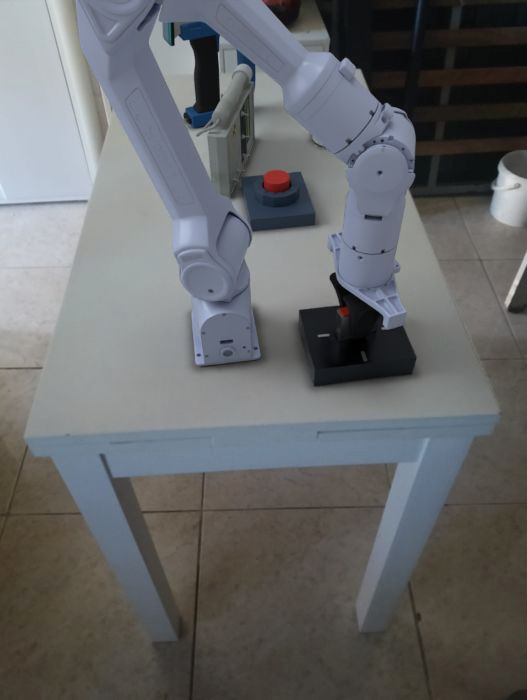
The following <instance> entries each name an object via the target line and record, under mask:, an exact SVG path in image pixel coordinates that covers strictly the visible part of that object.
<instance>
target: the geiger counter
mask: <svg viewBox="0 0 527 700" xmlns="http://www.w3.org/2000/svg"><path fill="white" fill-rule="evenodd" d="M252 74H253V73H252V70H251V68H250V67H249V66H248V65H246V64H240V65H238V66H237V65H236V67H235V69H234V70H233V72H232V75H231V81H230V82H229V84H228V86H227V88H226V89H225V91H224V93H220V102H219V104H218V105H217V107H216V109H215V111H214V112H213V114H212V119H211V120H210V121H209V122H208V123H207V124H206V125H205V126H203V128H201V130H199V131H198V132H197V133H196V134H195V137H196V138H198V137H200V136H201V135H202V134H205V133H207V135H206V137H207V138H206V139H207V149H208V160H209V162H208V163H209V173H210V174H209V175H210V180H211V182H212V184H213V186H214V189H215V191H216V193H217V194H218V195H222V196H226V197H229V198H230V199H231V198H232V196H233V193H234V190H235V189H236V186H237V183H241V180H239V179H240V178H241V174H242V172H246V169H244V167H245V165H246V163H247V160H248V158H249V157H251V154H250V153H251V151H252V148H253V146H254V144H255V141H256V130H255V129H256V128H255V127H256V126H255V125H256V124H255V90H254V82H251V81H250V80H251V78H252ZM212 122H213V124H211V123H212Z"/></svg>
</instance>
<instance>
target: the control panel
mask: <svg viewBox="0 0 527 700" xmlns="http://www.w3.org/2000/svg"><path fill="white" fill-rule="evenodd" d="M338 309H340V305H339V304H338V305H329V306H328V305H327V306H320V307H310V308H301V309H298V321H297V322H298V323H297V326H298V327H297V328H298V331H299V335H300V338H301V339H300V340H301V343H302V347H303V351H304V355H305V359H306V361H307V366H308V370H309V374H310V377H311V382H312V386H313V387H318V386H326V385H332V384H334V385H335V384H343V383H350V382H358V381H359V382H361V381H366V380H376V379H383V378H391V377H399V376H400V377H401V376H407V375H413V373H414V369H415V365H416V361H417V354H416V352H415V349H414V348H413V346H412V345H413V344H411V343H412V342H411V341H410V338H409V336H408V333H407V332H406V329H405V327H404V325H402V326H399V327H396V328H392V329H389V330H387V329H386V328H385V327H384V325H383V319H384V317H383V315H381V316H380V317H379V322H378V327H377V331H374V332H371V333H369V335H368V336H365V337H362V338H358V339H355V340H354V339H353V338H351V339H348V340H344V341H341V342H339V340H338V339H337V337H336V336H335V334H334V331H335V322H336V313H337V310H338Z"/></svg>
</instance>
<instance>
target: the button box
mask: <svg viewBox="0 0 527 700" xmlns="http://www.w3.org/2000/svg"><path fill="white" fill-rule="evenodd" d="M287 173H288V174H289V176H290V187H289V189H288V190H286V191H284V192H279V193H274V192H269V191H267V190H265V188H264V175H265V174H260V175H250V176H249V175H247V176H240V185H241V187H240V188H241V192H242V198H243V203H244V206H245V210H246V217H247V221H248V223H249V225H250V226H251V229H252V232H258V231H259V232H261V231H268V230H269V231H270V230H278V229H291V228H300V227H309V226H315V225H316V224H315V223H316V211H315V208H314V205H313V202H312V200H311V196H310V194H309V191H308V188H307V185H306V182H305V179H304V177H303V174H302V172H301V171H293V172H292V171H291V172H287Z"/></svg>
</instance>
